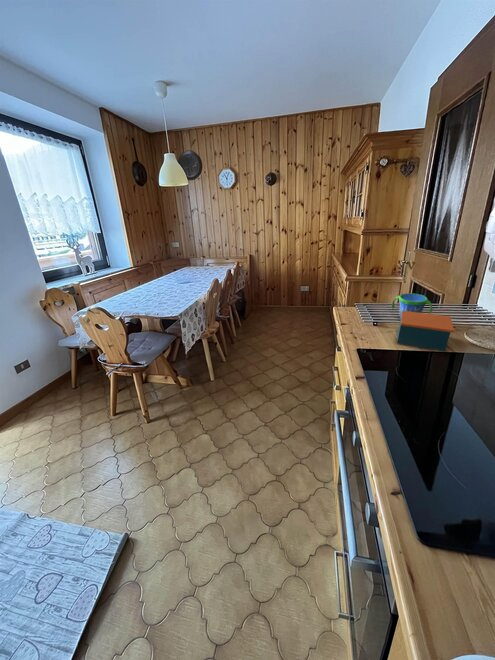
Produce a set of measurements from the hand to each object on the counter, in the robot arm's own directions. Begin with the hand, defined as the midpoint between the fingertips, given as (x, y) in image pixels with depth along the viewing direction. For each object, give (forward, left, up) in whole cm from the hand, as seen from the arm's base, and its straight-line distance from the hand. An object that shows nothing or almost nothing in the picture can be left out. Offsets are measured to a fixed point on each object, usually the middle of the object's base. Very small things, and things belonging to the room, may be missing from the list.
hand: (492, 271), depth 91 cm
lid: (+8, +12, -20) cm, 25 cm away
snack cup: (+26, +3, -28) cm, 38 cm away
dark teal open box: (+9, +12, -28) cm, 31 cm away
